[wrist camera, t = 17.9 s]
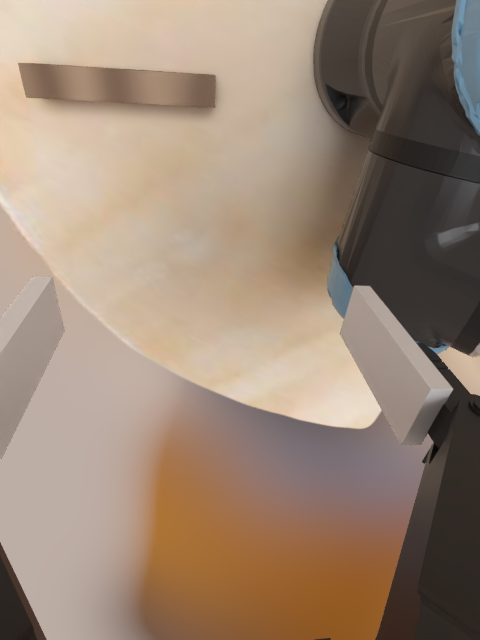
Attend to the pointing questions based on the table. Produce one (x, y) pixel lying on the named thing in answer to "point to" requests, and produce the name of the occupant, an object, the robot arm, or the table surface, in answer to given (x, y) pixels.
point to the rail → (117, 85)
